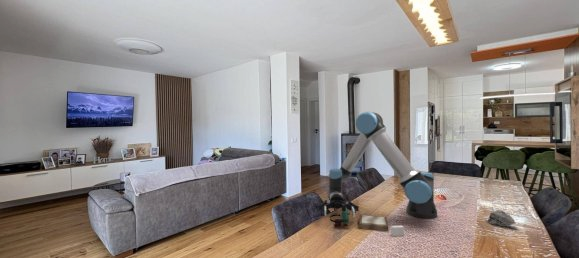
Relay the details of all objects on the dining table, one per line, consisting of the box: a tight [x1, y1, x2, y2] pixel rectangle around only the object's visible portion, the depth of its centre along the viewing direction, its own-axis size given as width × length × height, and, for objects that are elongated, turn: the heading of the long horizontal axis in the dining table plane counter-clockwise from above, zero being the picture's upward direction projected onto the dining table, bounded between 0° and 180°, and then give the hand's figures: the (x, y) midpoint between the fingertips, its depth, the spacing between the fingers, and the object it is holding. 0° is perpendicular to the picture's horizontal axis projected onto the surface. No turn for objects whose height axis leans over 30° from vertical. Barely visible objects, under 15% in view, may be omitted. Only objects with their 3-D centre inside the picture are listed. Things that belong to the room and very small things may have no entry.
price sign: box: [390, 225, 405, 237], centre depth 113 cm, size 5×2×4 cm, turn 93°
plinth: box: [359, 214, 389, 232], centre depth 124 cm, size 13×12×3 cm
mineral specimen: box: [486, 209, 516, 227], centre depth 122 cm, size 10×8×10 cm
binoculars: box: [329, 203, 351, 229], centre depth 124 cm, size 9×11×10 cm
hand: (339, 213), depth 121 cm, fingers open, 13 cm apart
